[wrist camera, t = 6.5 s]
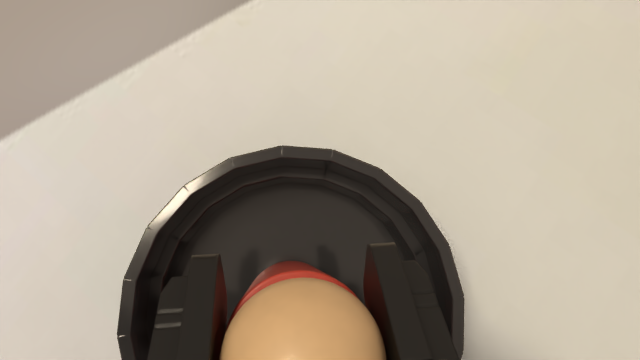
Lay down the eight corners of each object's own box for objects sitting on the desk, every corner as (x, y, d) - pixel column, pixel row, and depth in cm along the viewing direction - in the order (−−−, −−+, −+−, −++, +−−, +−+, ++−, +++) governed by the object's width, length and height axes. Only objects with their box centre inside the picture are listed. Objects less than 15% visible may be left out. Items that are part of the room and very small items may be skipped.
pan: (374, 492, 22) (397, 556, 17) (103, 388, 21) (56, 426, 17) (464, 223, 24) (507, 218, 19) (219, 125, 23) (204, 97, 19)
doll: (316, 366, 21) (369, 531, 9) (231, 333, 21) (166, 454, 9) (348, 279, 22) (439, 322, 9) (266, 247, 22) (251, 247, 9)
